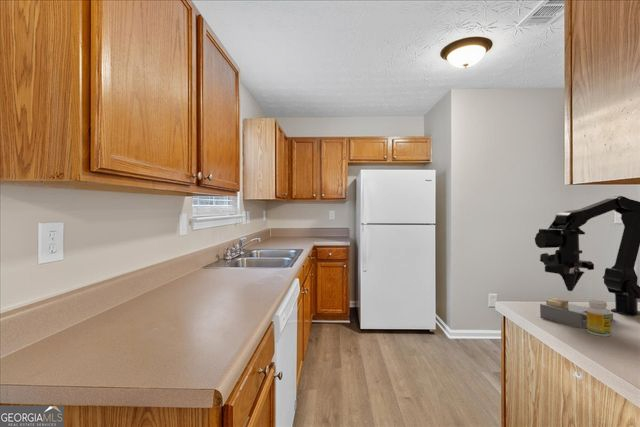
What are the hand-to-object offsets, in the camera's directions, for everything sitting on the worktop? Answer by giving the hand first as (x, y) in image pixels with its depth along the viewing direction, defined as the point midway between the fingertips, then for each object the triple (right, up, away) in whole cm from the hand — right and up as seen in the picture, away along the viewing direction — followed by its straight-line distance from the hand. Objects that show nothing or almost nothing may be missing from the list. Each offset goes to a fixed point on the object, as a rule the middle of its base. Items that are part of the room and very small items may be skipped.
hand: (570, 290), depth 112 cm
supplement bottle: (-5, -9, -17) cm, 20 cm away
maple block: (-7, -7, -3) cm, 10 cm away
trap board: (-1, -8, -4) cm, 9 cm away
